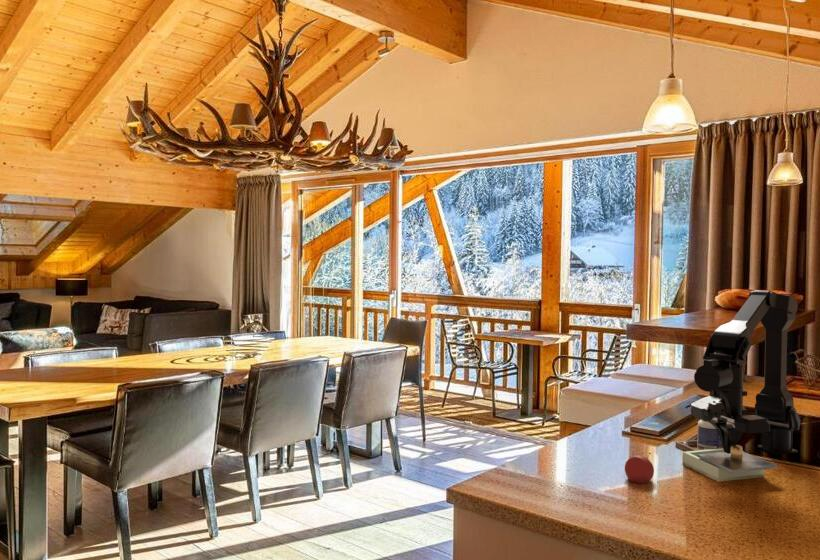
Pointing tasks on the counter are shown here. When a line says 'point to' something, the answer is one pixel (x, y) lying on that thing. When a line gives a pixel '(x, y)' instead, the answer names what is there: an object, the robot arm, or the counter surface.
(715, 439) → the pill bottle
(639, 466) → the fruit
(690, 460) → the box
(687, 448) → the frame
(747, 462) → the lid
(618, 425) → the counter surface
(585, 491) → the counter surface
